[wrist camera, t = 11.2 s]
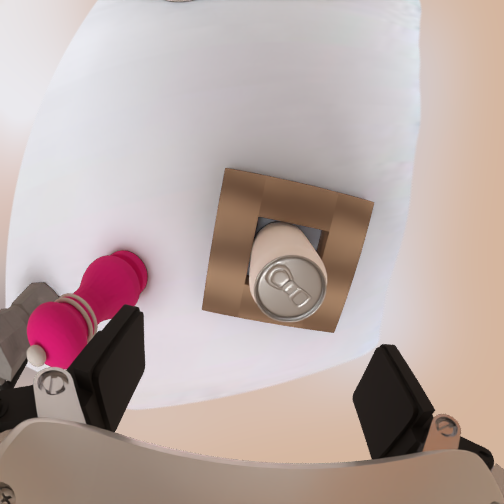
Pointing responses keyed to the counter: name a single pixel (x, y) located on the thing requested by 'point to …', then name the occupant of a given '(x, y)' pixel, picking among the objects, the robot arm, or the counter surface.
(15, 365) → the coffeepot
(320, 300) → the can
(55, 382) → the robot arm
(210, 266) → the socket board
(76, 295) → the pepper mill
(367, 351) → the counter surface
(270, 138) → the counter surface
